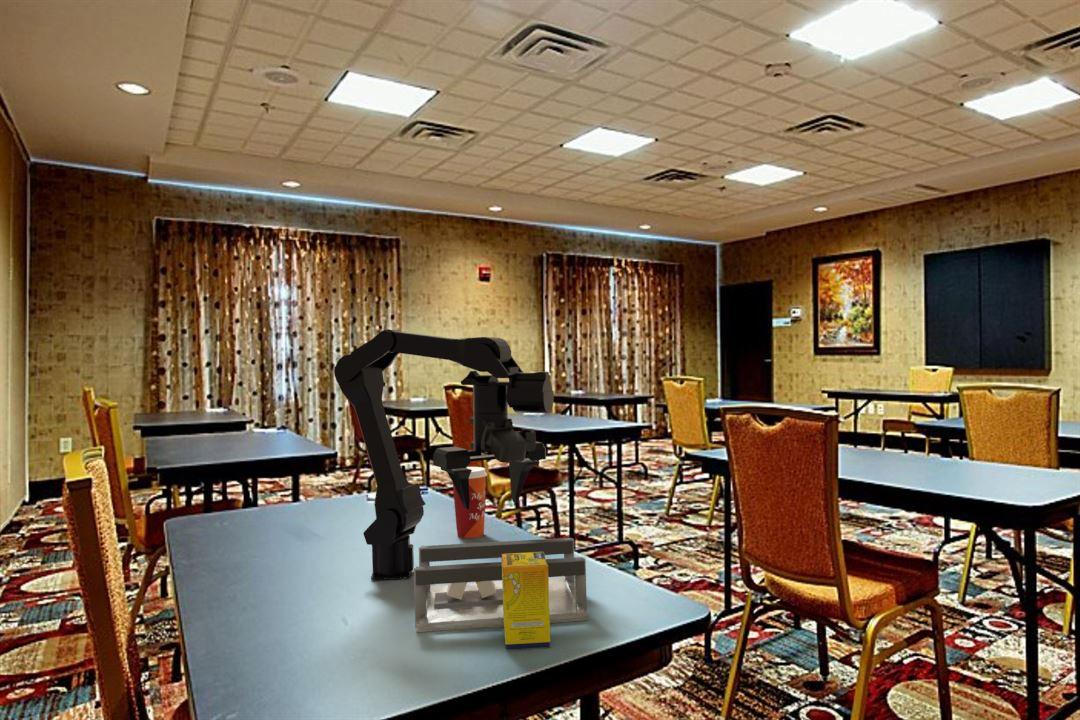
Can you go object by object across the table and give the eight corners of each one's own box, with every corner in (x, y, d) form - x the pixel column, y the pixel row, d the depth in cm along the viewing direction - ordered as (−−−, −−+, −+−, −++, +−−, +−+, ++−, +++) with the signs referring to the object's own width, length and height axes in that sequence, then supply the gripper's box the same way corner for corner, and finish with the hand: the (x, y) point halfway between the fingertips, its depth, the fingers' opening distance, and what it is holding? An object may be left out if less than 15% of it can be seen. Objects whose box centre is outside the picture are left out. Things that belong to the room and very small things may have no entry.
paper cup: (483, 540, 144) (481, 472, 143) (447, 539, 145) (445, 472, 145) (493, 530, 151) (491, 466, 151) (459, 530, 153) (457, 466, 153)
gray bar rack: (414, 628, 98) (413, 571, 98) (420, 596, 111) (419, 546, 111) (588, 616, 101) (586, 560, 101) (573, 586, 114) (572, 537, 114)
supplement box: (503, 633, 96) (500, 553, 96) (546, 630, 96) (544, 550, 96) (504, 651, 90) (502, 566, 90) (551, 648, 90) (548, 563, 90)
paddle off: (482, 598, 104) (474, 579, 104) (481, 590, 107) (474, 572, 107) (496, 592, 104) (488, 574, 104) (495, 585, 107) (487, 567, 107)
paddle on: (447, 595, 103) (453, 576, 103) (447, 588, 107) (453, 569, 107) (461, 599, 103) (467, 580, 104) (461, 592, 107) (467, 573, 107)
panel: (416, 632, 97) (416, 619, 97) (423, 593, 112) (422, 582, 112) (587, 620, 99) (587, 607, 99) (570, 583, 115) (570, 572, 115)
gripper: (461, 419, 105) (462, 523, 105) (564, 412, 115) (564, 507, 115) (431, 414, 114) (432, 509, 114) (528, 408, 124) (529, 495, 124)
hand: (491, 505), depth 117 cm, fingers open, 9 cm apart
